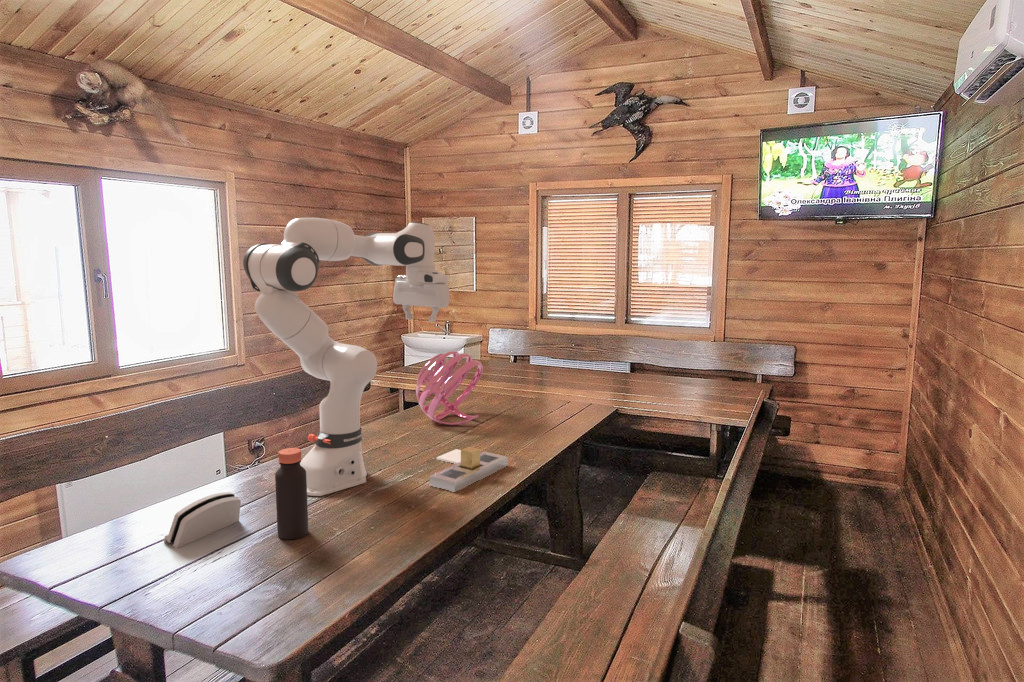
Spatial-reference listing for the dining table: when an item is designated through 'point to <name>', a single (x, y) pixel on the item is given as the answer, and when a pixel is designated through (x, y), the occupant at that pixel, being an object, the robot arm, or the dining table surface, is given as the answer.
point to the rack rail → (468, 472)
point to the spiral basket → (446, 385)
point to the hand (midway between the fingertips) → (420, 320)
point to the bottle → (291, 495)
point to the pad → (451, 456)
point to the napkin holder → (203, 518)
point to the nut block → (470, 458)
